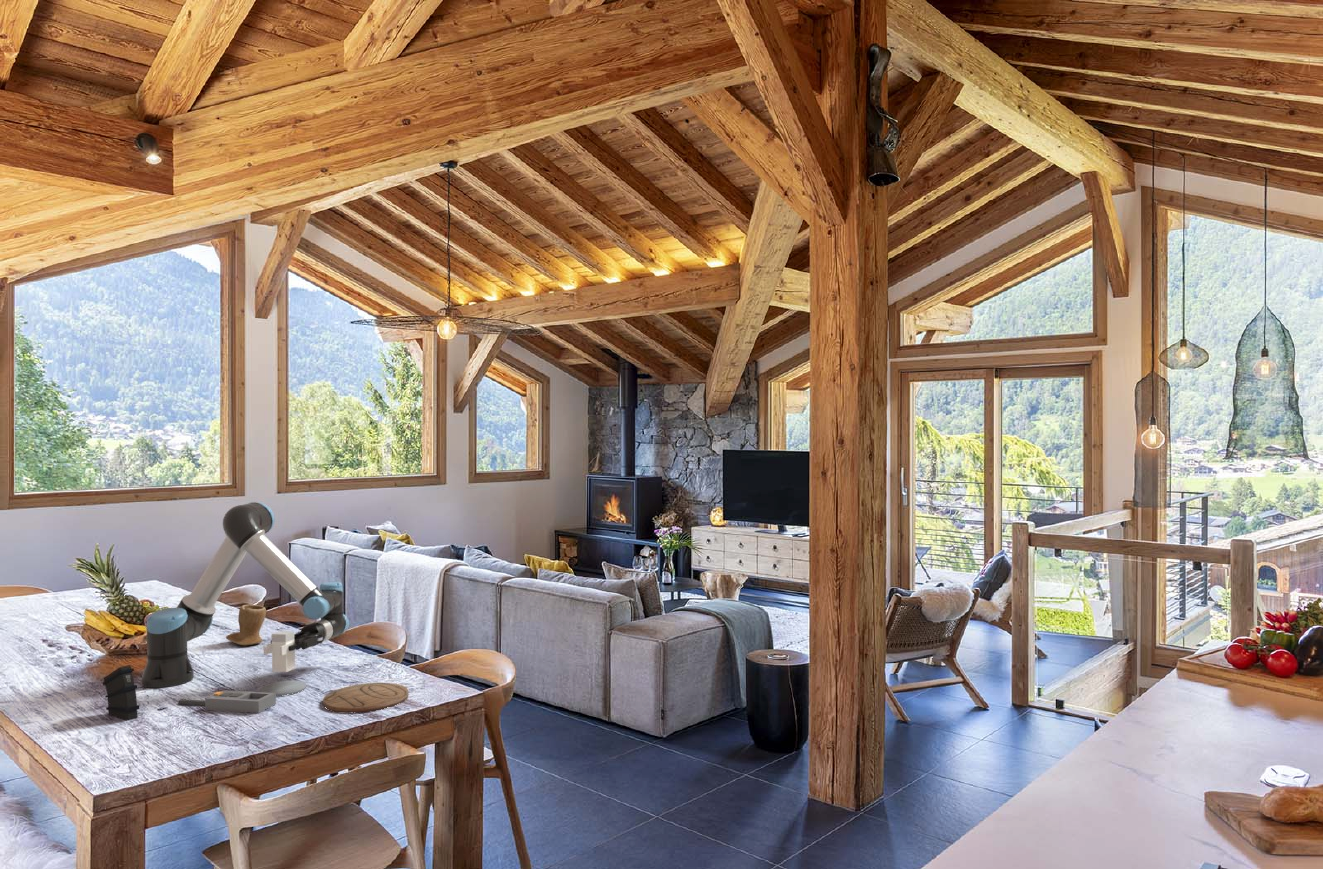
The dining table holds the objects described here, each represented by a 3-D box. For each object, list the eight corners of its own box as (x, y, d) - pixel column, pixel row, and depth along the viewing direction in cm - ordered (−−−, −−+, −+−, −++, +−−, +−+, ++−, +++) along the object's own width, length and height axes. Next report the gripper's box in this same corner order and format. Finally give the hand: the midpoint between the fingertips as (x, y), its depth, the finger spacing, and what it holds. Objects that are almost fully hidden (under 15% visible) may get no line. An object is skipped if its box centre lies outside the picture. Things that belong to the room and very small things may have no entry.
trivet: (348, 720, 246) (347, 713, 246) (308, 702, 263) (308, 696, 263) (424, 699, 265) (424, 693, 265) (382, 683, 282) (382, 678, 282)
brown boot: (271, 643, 336) (270, 605, 336) (239, 649, 327) (238, 610, 327) (256, 637, 346) (255, 600, 346) (225, 642, 338) (224, 604, 338)
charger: (272, 671, 273) (271, 634, 273) (281, 667, 277) (280, 630, 277) (286, 672, 272) (285, 634, 272) (295, 668, 276) (294, 631, 276)
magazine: (131, 717, 244) (118, 667, 248) (110, 729, 251) (98, 680, 254) (145, 713, 248) (132, 664, 251) (124, 725, 254) (112, 677, 257)
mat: (250, 691, 274) (250, 688, 274) (293, 681, 284) (293, 678, 284) (270, 699, 265) (270, 696, 265) (314, 689, 275) (314, 686, 275)
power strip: (170, 707, 258) (170, 694, 258) (189, 699, 266) (189, 686, 266) (258, 713, 252) (258, 699, 252) (275, 704, 260) (275, 691, 260)
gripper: (340, 644, 290) (298, 663, 267) (292, 643, 294) (247, 661, 271) (339, 622, 290) (298, 639, 267) (292, 621, 294) (247, 638, 271)
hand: (272, 650), depth 269 cm, fingers closed on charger, 5 cm apart
